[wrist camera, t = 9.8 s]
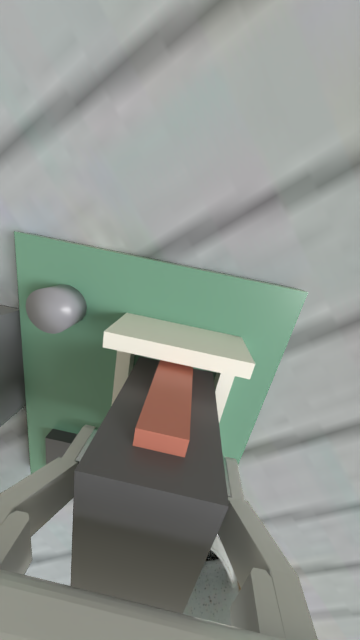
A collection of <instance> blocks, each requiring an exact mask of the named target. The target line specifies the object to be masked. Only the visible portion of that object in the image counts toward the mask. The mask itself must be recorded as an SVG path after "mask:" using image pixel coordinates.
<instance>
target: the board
mask: <svg viewBox="0 0 360 640" xmlns="http://www.w3.org/2000/svg"><path fill="white" fill-rule="evenodd" d="M14 236H15V251H16V265H17V280H18V295H19V309H20V324H21V338H22V353H23V367H24V382H25V396H26V411H27V425H28V440H29V454H30V469H31V474H32V473H34V472H36V471H37V470H39V469H40V468H42V467H44V466H45V465H47V464H48V463H50V462H52V461H53V460H55V459H56V458H58V457H60V458H62V457H63V455H64V454H65V452H66V451H67V449H68V448H69V446H70V445H71V443H72V442H73V440H74V439H75V438H76V436H77V435H78V433H79V432H80V430H81V429H82V427H83V426H84V425H90V426H94V427H98V428H99V427H100V425H101V423H102V422H103V420H104V418H105V416H106V415H107V413H108V411H109V409H110V408H111V406H112V404H113V402H114V401H115V399H116V397H117V395H118V394H119V392H120V390H121V388H122V387H123V385H124V383H125V382H126V380H127V378H128V376H129V375H130V373H131V371H132V369H133V368H134V366H135V364H136V362H137V361H138V359H139V357H144V358H148V359H153V360H157V361H160V360H163V361H168V362H172V363H177V364H182V365H186V366H191V367H193V368H194V369H198V370H203V371H208V372H212V373H213V378H214V387H215V395H216V403H217V411H218V420H219V428H220V436H221V445H222V453H223V456H224V457H229V458H234V459H236V461H237V464H239V461H240V459H241V456H242V454H243V452H244V449H245V447H246V444H247V442H248V439H249V437H250V434H251V432H252V429H253V427H254V424H255V422H256V420H257V417H258V415H259V412H260V410H261V407H262V405H263V402H264V400H265V397H266V395H267V393H268V390H269V388H270V385H271V383H272V380H273V378H274V375H275V373H276V370H277V368H278V365H279V363H280V361H281V358H282V356H283V353H284V351H285V348H286V346H287V343H288V341H289V338H290V336H291V334H292V331H293V329H294V326H295V324H296V321H297V319H298V316H299V314H300V311H301V309H302V307H303V304H304V302H305V299H306V297H307V294H308V292H305V291H302V290H300V289H296V288H291V287H287V286H282V285H277V284H272V283H267V282H262V281H258V280H253V279H248V278H243V277H238V276H234V275H229V274H224V273H219V272H214V271H209V270H205V269H200V268H195V267H190V266H185V265H180V264H176V263H171V262H166V261H161V260H156V259H152V258H147V257H142V256H137V255H132V254H127V253H123V252H118V251H113V250H108V249H103V248H98V247H94V246H89V245H84V244H79V243H74V242H70V241H65V240H60V239H55V238H50V237H45V236H41V235H36V234H31V233H22V232H14Z"/></svg>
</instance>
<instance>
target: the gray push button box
mask: <svg viewBox="0 0 360 640" xmlns="http://www.w3.org/2000/svg"><path fill="white" fill-rule="evenodd" d="M25 405H26V396H25V382H24V367H23V353H22V338H21V324H20V309H17V308H12V307H7V306H3V305H0V426H2V425H3V424H4V423H5V422H6V421H7V420H8V419H10V418H11V417H12V416H13V415H14V414H15V413H17V412H18V411H19V410H20V409H21V408H22V407H23V406H25Z"/></svg>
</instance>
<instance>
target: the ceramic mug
mask: <svg viewBox="0 0 360 640" xmlns="http://www.w3.org/2000/svg"><path fill="white" fill-rule="evenodd" d="M210 550H211V551H213V552H214V553H215V554H216V556H217V557H218V558H219V559H216V560H211V561H205V563H204V566H203V568H202V570H201V573H200V575H199V577H198V580H197V582H196V584H195V587H194V589H193V591H192V594H191V596H190V598H189V600H188V603H187V605H186V607H185V610H184V612H183V614H185V615H189V616H193V617H197V618H201V619H205V620H209V621H213V622H217V623H221V624H225V625H229V626H231V616H230V607H231V605H232V603H233V602H234V600H235V598H236V597H237V595H238V593H239V591H240V590H241V587H240V585H239V583H238V580H237V578H236V575H235V573H234V571H233V568H232V566H231V564H230V561H229V559H228V557H227V554H226V552H225V549H224V547H223V545H222V542H221V540H220V539H219V538H218V537H217V536H216V538H215V540H214V542H213V545H212V547H211V549H210Z"/></svg>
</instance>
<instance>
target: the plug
mask: <svg viewBox="0 0 360 640" xmlns="http://www.w3.org/2000/svg"><path fill="white" fill-rule="evenodd" d="M228 508H229V503H228V494H227V486H226V478H225V470H224V461H223V453H222V445H221V436H220V428H219V420H218V411H217V403H216V395H215V387H214V378H213V373H212V372H208V371H203V370H198V369H194V368H193V367H191V366H186V365H182V364H177V363H172V362H168V361H163V360H160V361H157V360H153V359H148V358H144V357H139V359H138V361H137V362H136V364H135V366H134V368H133V369H132V371H131V373H130V375H129V376H128V378H127V380H126V382H125V383H124V385H123V387H122V388H121V390H120V392H119V394H118V395H117V397H116V399H115V401H114V402H113V404H112V406H111V408H110V409H109V411H108V413H107V415H106V416H105V418H104V420H103V422H102V423H101V425H100V427H99V429H98V430H97V432H96V434H95V436H94V437H93V439H92V441H91V443H90V444H89V446H88V448H87V450H86V451H85V453H84V455H83V457H82V458H81V460H80V462H79V464H78V465H77V467H76V469H75V473H74V503H73V532H72V561H71V586H72V587H76V588H80V589H84V590H88V591H92V592H96V593H100V594H104V595H108V596H112V597H116V598H120V599H124V600H128V601H132V602H136V603H140V604H144V605H148V606H153V607H157V608H161V609H165V610H169V611H173V612H177V613H181V614H183V612H184V610H185V607H186V605H187V603H188V600H189V598H190V596H191V594H192V591H193V589H194V587H195V584H196V582H197V580H198V577H199V575H200V573H201V570H202V568H203V566H204V563H205V561H206V559H207V556H208V554H209V552H210V549H211V547H212V545H213V542H214V540H215V538H216V535H217V533H218V531H219V528H220V526H221V524H222V521H223V519H224V517H225V515H226V512H227V510H228Z"/></svg>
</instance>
